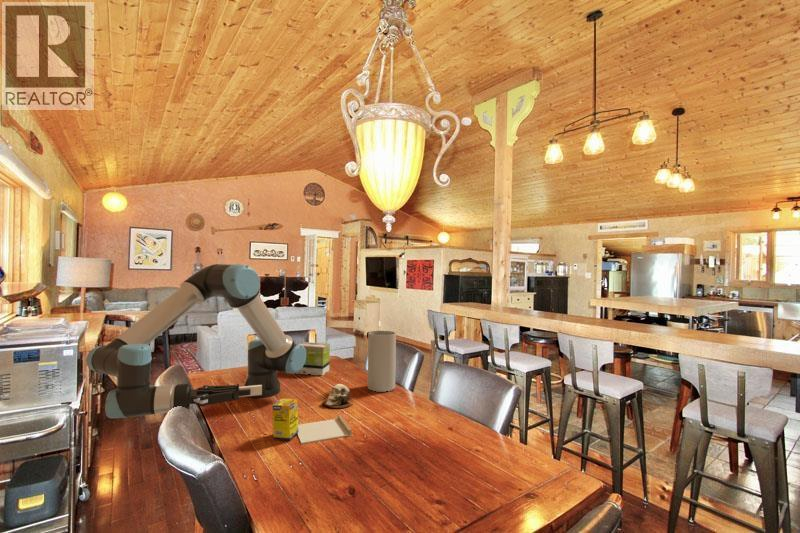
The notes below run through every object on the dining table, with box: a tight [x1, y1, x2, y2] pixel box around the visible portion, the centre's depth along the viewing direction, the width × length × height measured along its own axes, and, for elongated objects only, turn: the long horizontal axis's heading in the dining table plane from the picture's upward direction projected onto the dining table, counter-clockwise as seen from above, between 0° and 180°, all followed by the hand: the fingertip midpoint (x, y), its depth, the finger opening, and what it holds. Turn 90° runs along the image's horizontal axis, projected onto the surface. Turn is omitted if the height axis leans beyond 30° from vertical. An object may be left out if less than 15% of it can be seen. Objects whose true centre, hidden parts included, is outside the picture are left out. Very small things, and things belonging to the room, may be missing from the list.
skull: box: [322, 383, 353, 409], centre depth 151 cm, size 12×10×10 cm
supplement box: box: [271, 398, 299, 441], centre depth 121 cm, size 6×6×11 cm
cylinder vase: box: [367, 330, 397, 393], centre depth 172 cm, size 12×12×25 cm
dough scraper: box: [296, 414, 352, 445], centre depth 126 cm, size 16×14×2 cm
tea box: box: [296, 341, 331, 376], centre depth 195 cm, size 15×10×15 cm, turn 81°
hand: (261, 389), depth 118 cm, fingers closed
